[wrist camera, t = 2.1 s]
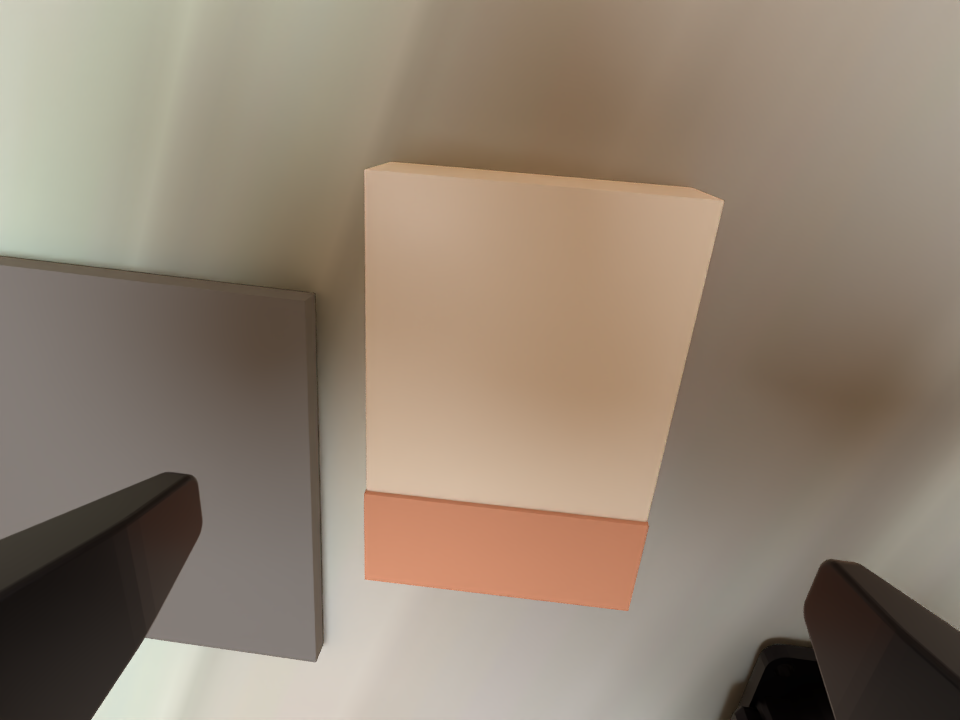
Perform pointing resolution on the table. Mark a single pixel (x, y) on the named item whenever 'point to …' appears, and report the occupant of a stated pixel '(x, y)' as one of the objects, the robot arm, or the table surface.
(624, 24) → the table surface
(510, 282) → the card deck
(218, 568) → the card mat
